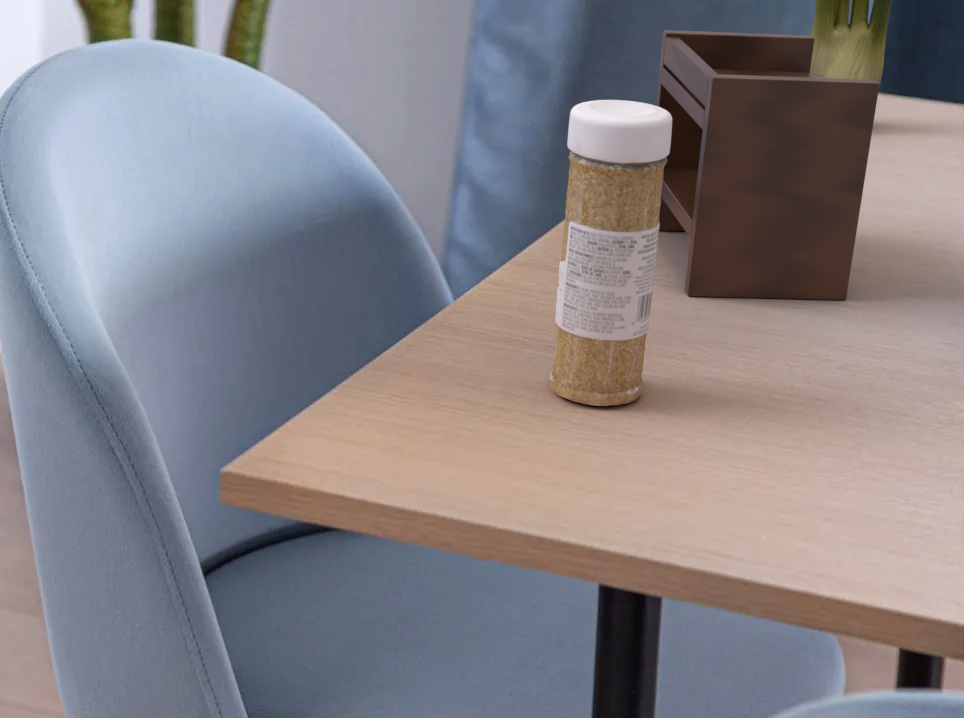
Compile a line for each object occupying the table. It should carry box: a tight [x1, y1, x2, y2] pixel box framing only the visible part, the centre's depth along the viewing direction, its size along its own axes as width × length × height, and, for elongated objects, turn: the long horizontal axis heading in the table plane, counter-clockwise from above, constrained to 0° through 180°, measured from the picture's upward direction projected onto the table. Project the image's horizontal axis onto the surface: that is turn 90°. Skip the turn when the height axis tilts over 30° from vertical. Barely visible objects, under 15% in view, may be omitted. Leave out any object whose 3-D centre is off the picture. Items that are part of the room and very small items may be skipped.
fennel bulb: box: [810, 0, 892, 86], centre depth 136 cm, size 6×5×12 cm
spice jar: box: [548, 99, 672, 407], centre depth 81 cm, size 5×5×14 cm
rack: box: [655, 29, 880, 301], centre depth 102 cm, size 9×14×12 cm, turn 4°
